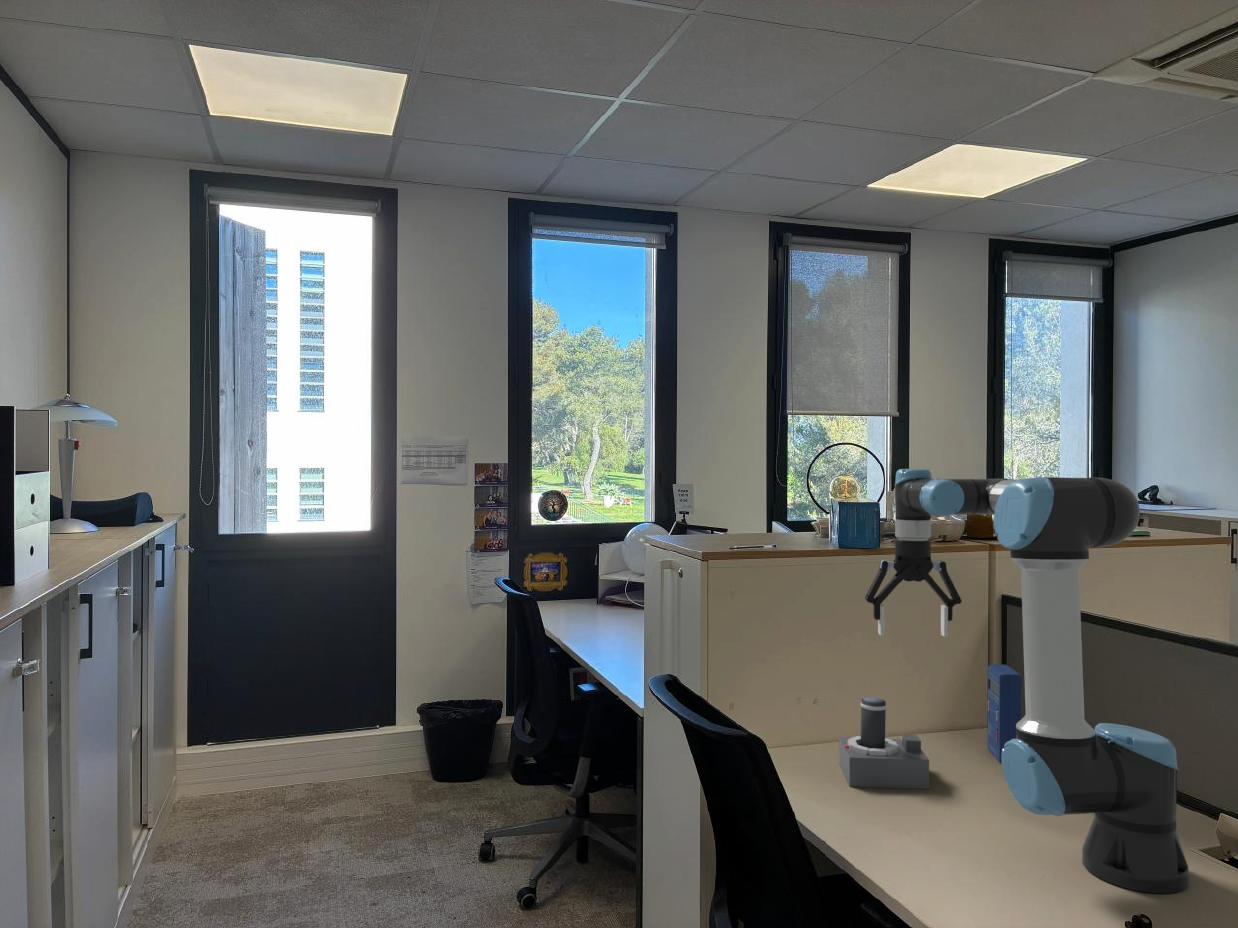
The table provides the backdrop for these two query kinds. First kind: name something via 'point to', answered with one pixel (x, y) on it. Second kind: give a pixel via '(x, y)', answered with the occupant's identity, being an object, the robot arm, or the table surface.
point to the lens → (873, 722)
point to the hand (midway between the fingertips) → (912, 635)
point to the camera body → (885, 763)
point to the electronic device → (1002, 706)
